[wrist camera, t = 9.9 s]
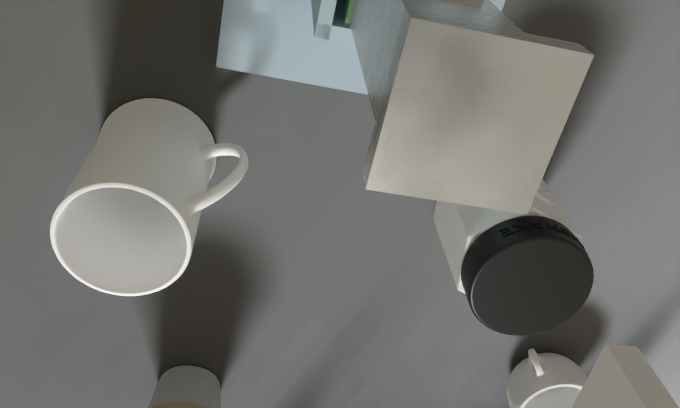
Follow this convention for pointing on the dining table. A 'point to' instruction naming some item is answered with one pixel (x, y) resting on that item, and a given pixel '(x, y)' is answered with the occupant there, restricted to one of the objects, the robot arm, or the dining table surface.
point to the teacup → (545, 382)
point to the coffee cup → (187, 389)
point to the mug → (140, 198)
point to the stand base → (293, 41)
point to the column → (461, 100)
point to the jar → (516, 263)
